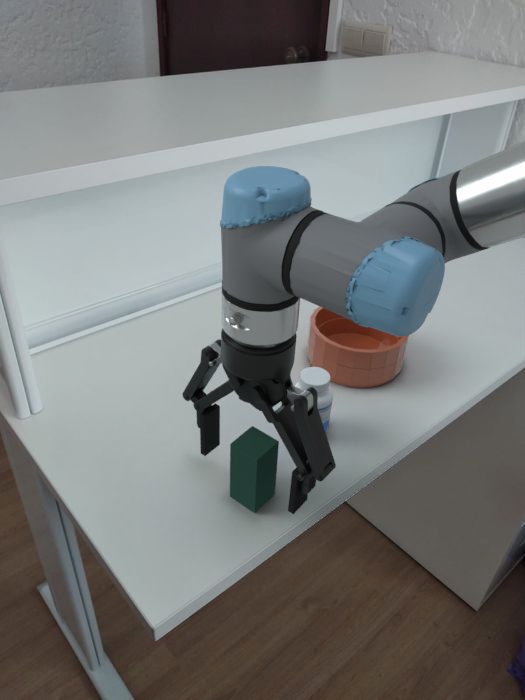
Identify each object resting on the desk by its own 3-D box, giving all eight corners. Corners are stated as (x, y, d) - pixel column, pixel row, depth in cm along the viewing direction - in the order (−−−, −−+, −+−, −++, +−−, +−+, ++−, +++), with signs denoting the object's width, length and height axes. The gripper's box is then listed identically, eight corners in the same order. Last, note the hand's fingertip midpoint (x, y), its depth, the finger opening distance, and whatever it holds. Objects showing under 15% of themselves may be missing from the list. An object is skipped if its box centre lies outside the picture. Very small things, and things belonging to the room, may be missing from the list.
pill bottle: (281, 427, 81) (285, 372, 76) (308, 411, 84) (314, 357, 79) (308, 449, 78) (315, 393, 73) (335, 431, 81) (344, 377, 76)
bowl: (418, 357, 97) (426, 321, 93) (371, 402, 87) (378, 365, 83) (339, 323, 104) (344, 289, 100) (287, 361, 94) (290, 325, 90)
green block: (275, 493, 72) (279, 441, 66) (254, 513, 69) (257, 460, 64) (250, 477, 74) (252, 425, 68) (229, 496, 71) (230, 443, 66)
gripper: (144, 299, 61) (157, 443, 73) (346, 402, 49) (320, 555, 61) (194, 274, 66) (198, 413, 78) (389, 363, 54) (357, 511, 66)
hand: (251, 476), depth 70 cm, fingers open, 13 cm apart
